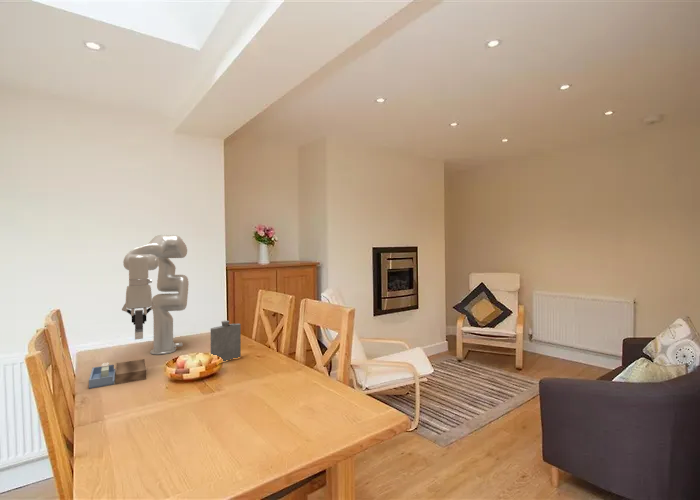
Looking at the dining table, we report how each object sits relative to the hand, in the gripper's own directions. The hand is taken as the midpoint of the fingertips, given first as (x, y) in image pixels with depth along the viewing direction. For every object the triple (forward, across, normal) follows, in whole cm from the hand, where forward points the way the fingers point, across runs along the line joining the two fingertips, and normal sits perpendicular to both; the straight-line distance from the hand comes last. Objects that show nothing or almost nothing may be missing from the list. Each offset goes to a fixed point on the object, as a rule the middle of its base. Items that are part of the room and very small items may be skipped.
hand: (139, 323), depth 161 cm
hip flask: (+23, -37, 0) cm, 44 cm away
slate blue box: (+23, +14, +1) cm, 26 cm away
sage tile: (+20, +11, +4) cm, 23 cm away
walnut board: (+23, +3, +1) cm, 23 cm away
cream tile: (+20, +12, -3) cm, 23 cm away
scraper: (+5, 0, 0) cm, 5 cm away
